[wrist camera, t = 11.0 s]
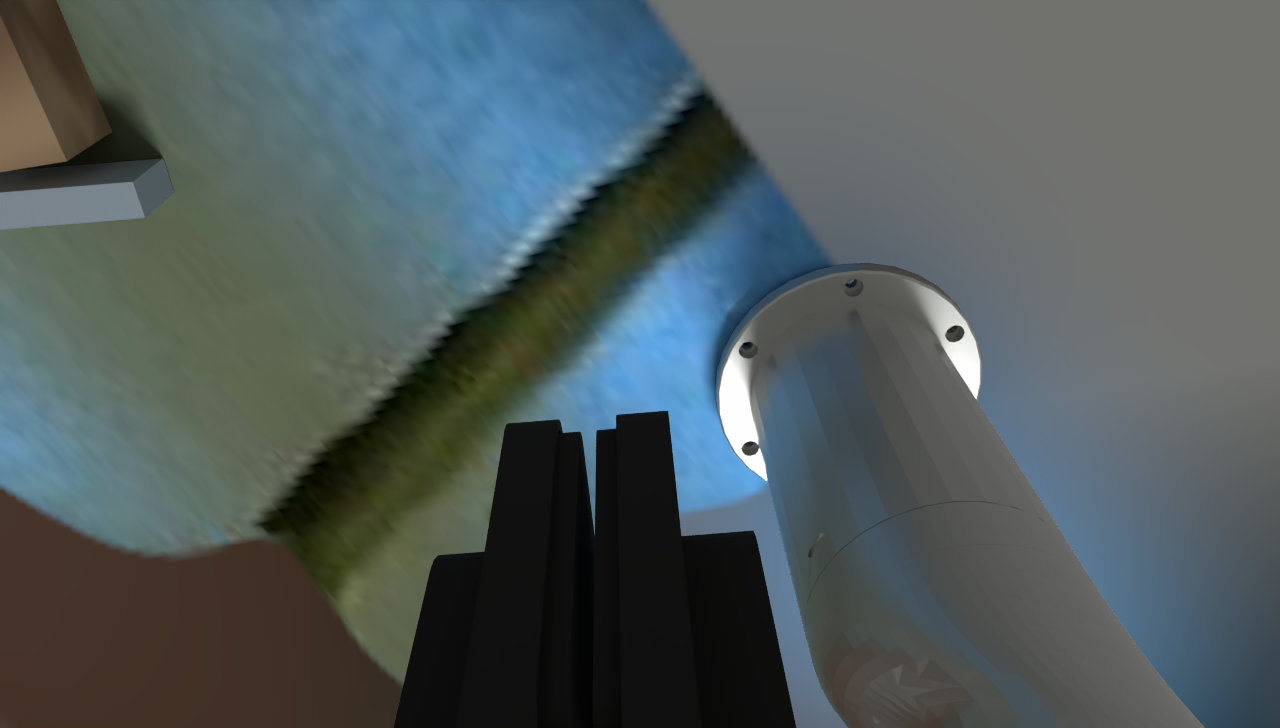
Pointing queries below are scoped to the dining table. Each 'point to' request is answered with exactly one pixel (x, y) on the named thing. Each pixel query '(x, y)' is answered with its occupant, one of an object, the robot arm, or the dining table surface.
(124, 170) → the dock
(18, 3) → the t block
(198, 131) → the dining table surface
